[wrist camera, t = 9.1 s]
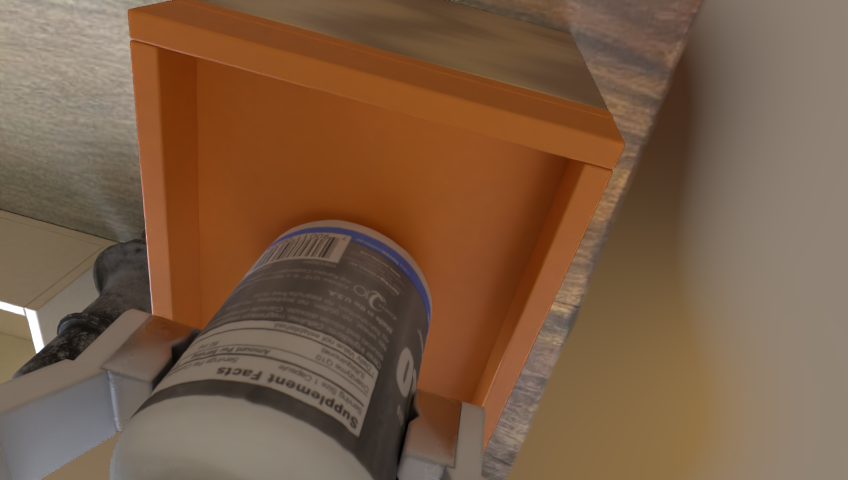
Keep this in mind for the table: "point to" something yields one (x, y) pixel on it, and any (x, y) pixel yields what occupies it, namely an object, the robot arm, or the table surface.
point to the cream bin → (40, 284)
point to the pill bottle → (293, 369)
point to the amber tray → (362, 177)
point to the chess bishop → (101, 303)
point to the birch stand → (446, 39)
